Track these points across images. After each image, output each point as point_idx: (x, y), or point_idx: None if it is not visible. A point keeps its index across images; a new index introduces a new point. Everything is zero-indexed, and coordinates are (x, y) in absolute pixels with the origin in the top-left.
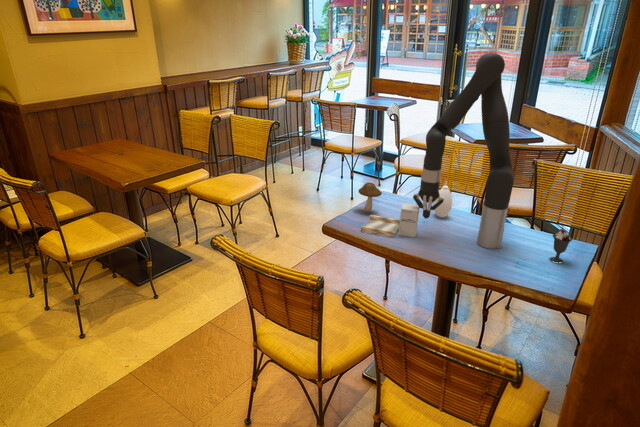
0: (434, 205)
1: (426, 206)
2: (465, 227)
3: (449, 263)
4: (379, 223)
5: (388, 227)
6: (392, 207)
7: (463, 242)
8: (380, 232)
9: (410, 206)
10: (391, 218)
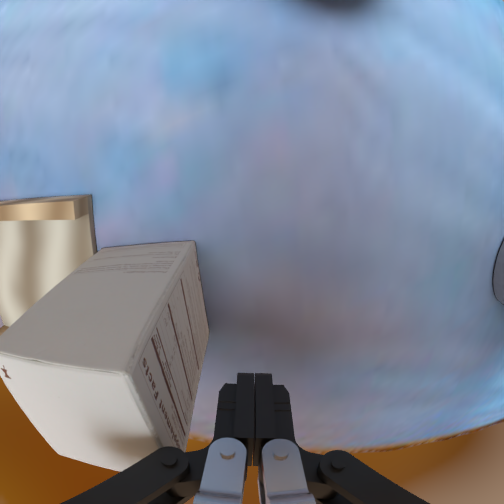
0: (341, 488)
1: (240, 471)
2: (469, 100)
3: (360, 441)
4: (12, 245)
5: (55, 276)
6: (34, 3)
7: (449, 289)
8: None
9: (78, 431)
10: (26, 206)
